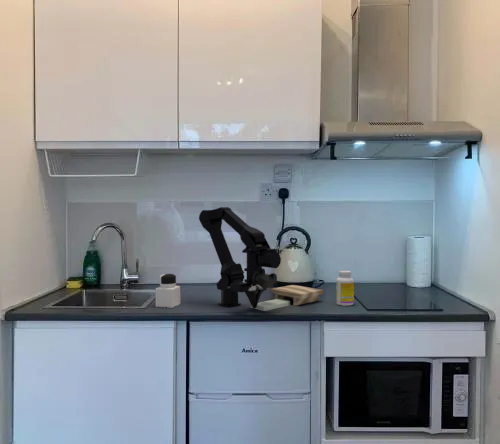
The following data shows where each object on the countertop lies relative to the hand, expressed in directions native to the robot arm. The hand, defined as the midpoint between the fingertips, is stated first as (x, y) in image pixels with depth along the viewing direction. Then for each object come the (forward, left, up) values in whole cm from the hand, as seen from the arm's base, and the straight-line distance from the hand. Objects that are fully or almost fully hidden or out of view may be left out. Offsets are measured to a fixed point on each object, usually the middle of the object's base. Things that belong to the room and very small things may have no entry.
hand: (254, 308), depth 177 cm
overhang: (0, +23, -1) cm, 23 cm away
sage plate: (0, +9, -1) cm, 9 cm away
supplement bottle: (+17, +32, -1) cm, 36 cm away
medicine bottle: (-28, -19, -1) cm, 34 cm away
